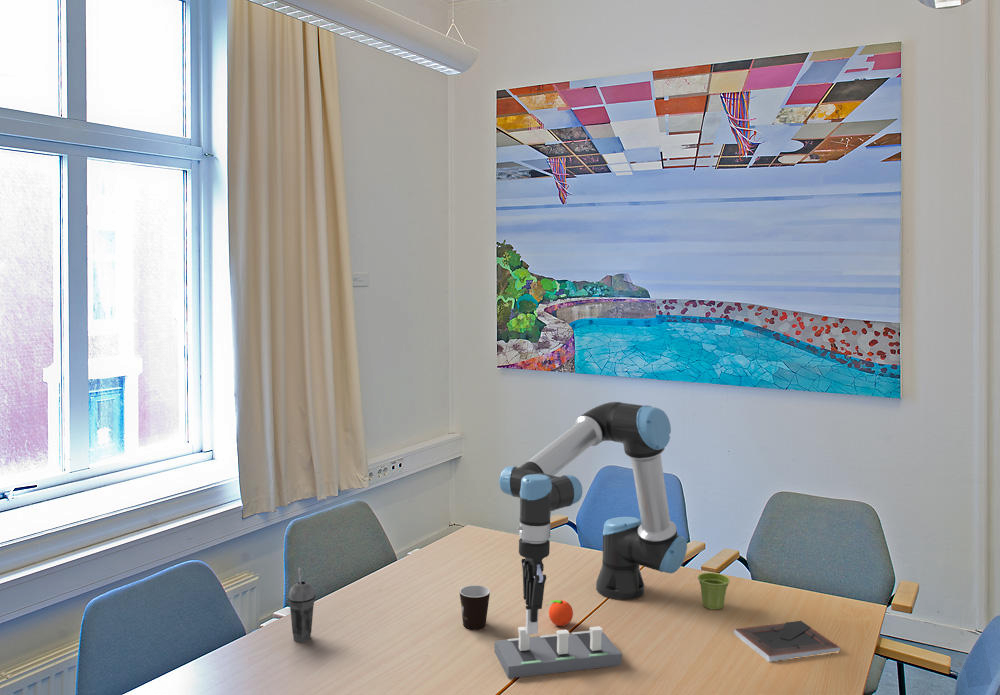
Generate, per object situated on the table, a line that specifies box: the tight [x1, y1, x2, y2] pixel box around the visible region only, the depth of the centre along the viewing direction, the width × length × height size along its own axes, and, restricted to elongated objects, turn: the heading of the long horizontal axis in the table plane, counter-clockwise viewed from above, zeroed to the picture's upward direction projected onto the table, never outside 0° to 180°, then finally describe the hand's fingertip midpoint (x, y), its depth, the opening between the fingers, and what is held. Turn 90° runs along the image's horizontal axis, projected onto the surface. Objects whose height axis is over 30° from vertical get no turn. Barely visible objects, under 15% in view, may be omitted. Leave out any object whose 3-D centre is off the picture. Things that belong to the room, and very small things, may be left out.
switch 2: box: [588, 625, 604, 651], centre depth 199 cm, size 3×2×6 cm
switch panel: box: [493, 630, 623, 679], centre depth 201 cm, size 30×14×3 cm, turn 105°
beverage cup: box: [287, 567, 316, 643], centre depth 210 cm, size 7×7×20 cm
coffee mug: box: [459, 584, 491, 631], centre depth 221 cm, size 12×9×10 cm
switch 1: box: [517, 625, 531, 651], centre depth 199 cm, size 3×2×6 cm
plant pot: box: [697, 572, 731, 611], centre depth 236 cm, size 9×9×9 cm
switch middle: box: [555, 629, 570, 655], centre depth 197 cm, size 3×2×6 cm
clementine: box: [547, 599, 574, 627], centre depth 221 cm, size 8×7×7 cm
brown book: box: [733, 620, 841, 663], centre depth 212 cm, size 16×2×22 cm
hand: (531, 632), depth 191 cm, fingers closed
